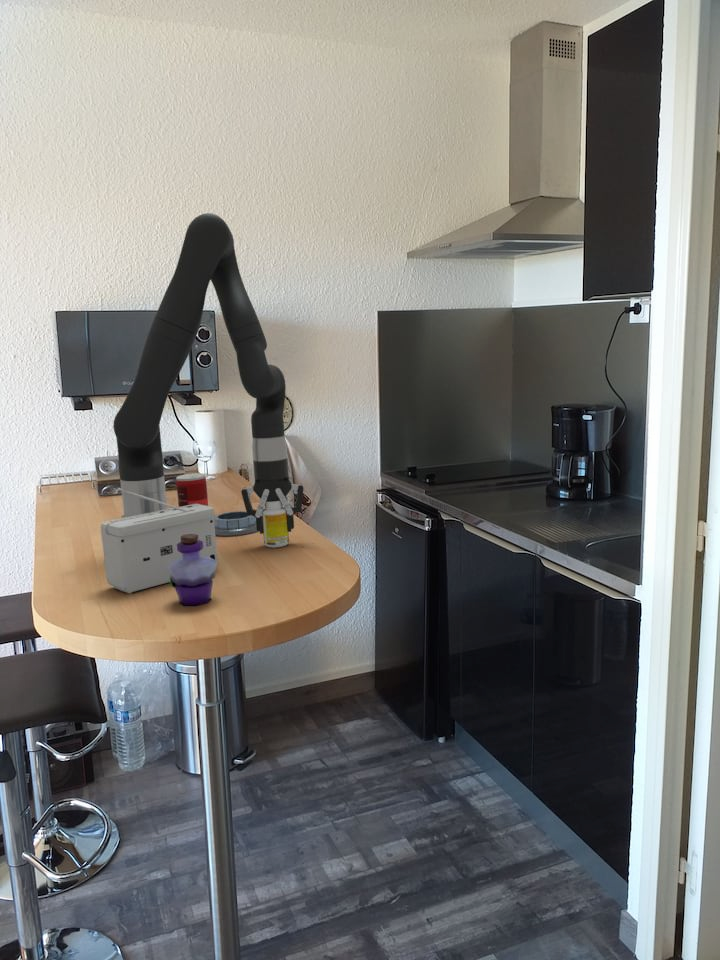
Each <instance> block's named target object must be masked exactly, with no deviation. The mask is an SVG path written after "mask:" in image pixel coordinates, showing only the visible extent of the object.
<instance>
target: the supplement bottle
mask: <svg viewBox="0 0 720 960" xmlns="http://www.w3.org/2000/svg"><path fill="white" fill-rule="evenodd" d="M287 514H288V513H287V511H286V509H285V507H284V506H283V504H282V502H281V501H270V502H266V503H265V505H264V508H263V511H262V514H261V516H262V523H263V534H262V535H263V543H264V546H265V547H267V548H282V547H285V546H287V545H288V544H289V543H290V536H289V532H288V523H287Z"/></svg>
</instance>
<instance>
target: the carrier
mask: <svg viewBox="0 0 720 960" xmlns="http://www.w3.org/2000/svg"><path fill="white" fill-rule="evenodd" d="M214 526H215V537H223V538H224V537H225V538H226V537H229V538H230V537H239V536H245V535H246V536H247V535H251V534H254V533H257V532H259V531H257V528H256V518H255V517H254V516H252V515H248V514H247V512H246V510H238V511H237V510H235V511H227V512H222V513H218V514H216V515H215V514H214Z"/></svg>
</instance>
